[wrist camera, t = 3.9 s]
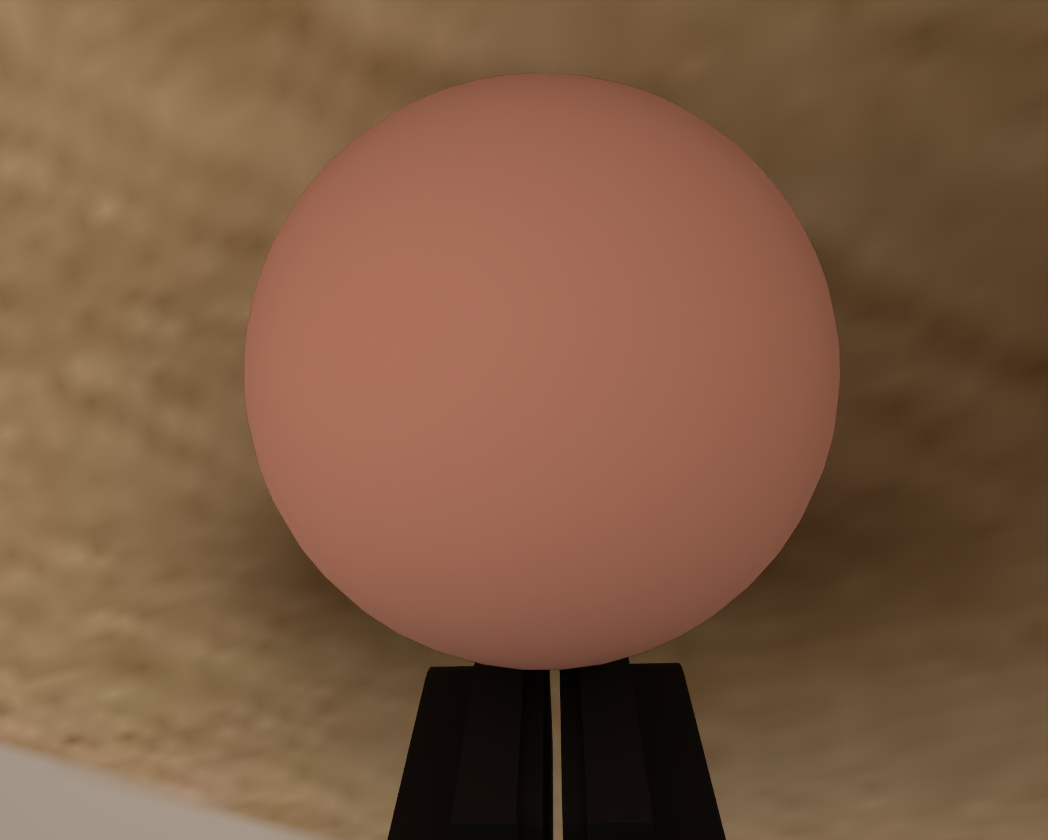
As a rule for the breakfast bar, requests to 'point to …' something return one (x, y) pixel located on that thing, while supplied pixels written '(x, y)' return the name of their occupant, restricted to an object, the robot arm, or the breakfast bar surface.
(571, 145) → the pink smooth round ball
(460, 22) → the breakfast bar surface
